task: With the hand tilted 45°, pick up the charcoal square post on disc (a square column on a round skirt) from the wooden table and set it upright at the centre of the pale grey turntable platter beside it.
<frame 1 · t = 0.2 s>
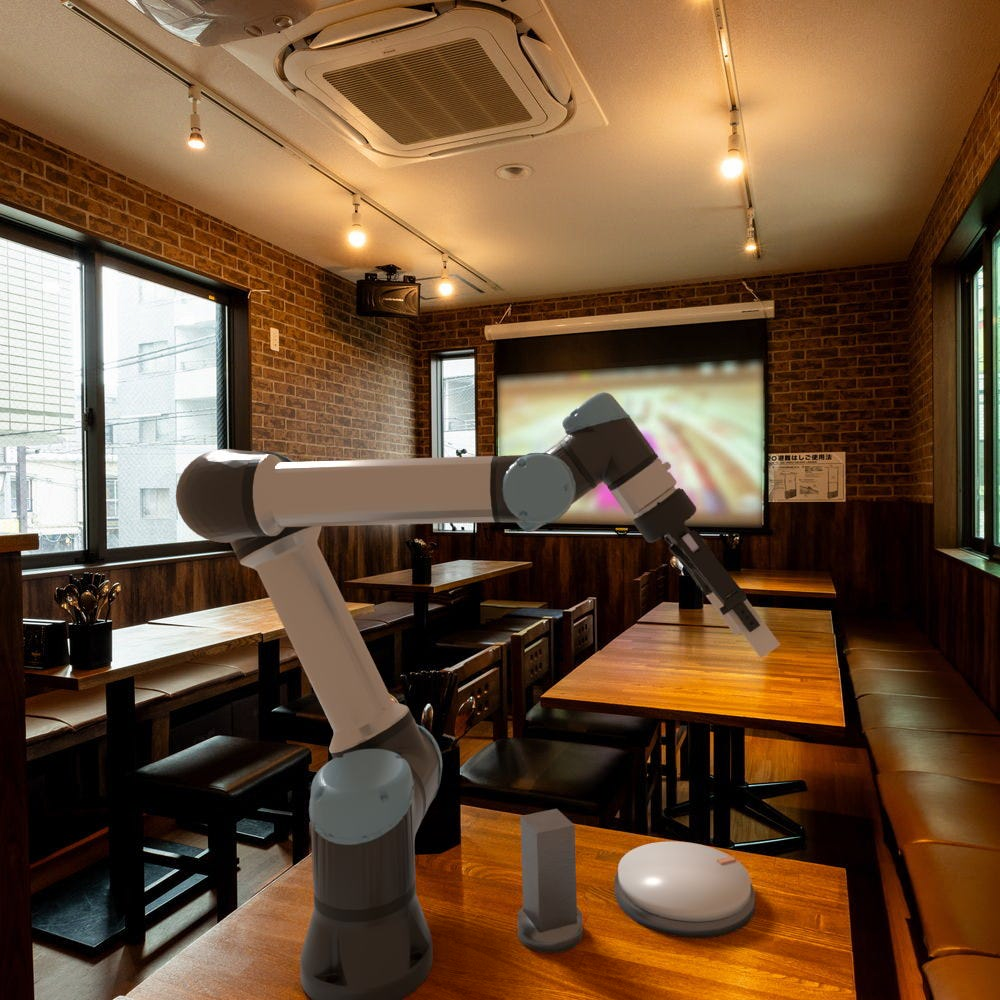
hand: (756, 639, 93), 35 cm above the table, tool tilted 35°, fingers open, 13 cm apart
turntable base: (683, 896, 99), on the table
square post on disc: (550, 932, 92), on the table
turntable platter: (682, 877, 99), point 3 cm above the table, hinge at 0.0°
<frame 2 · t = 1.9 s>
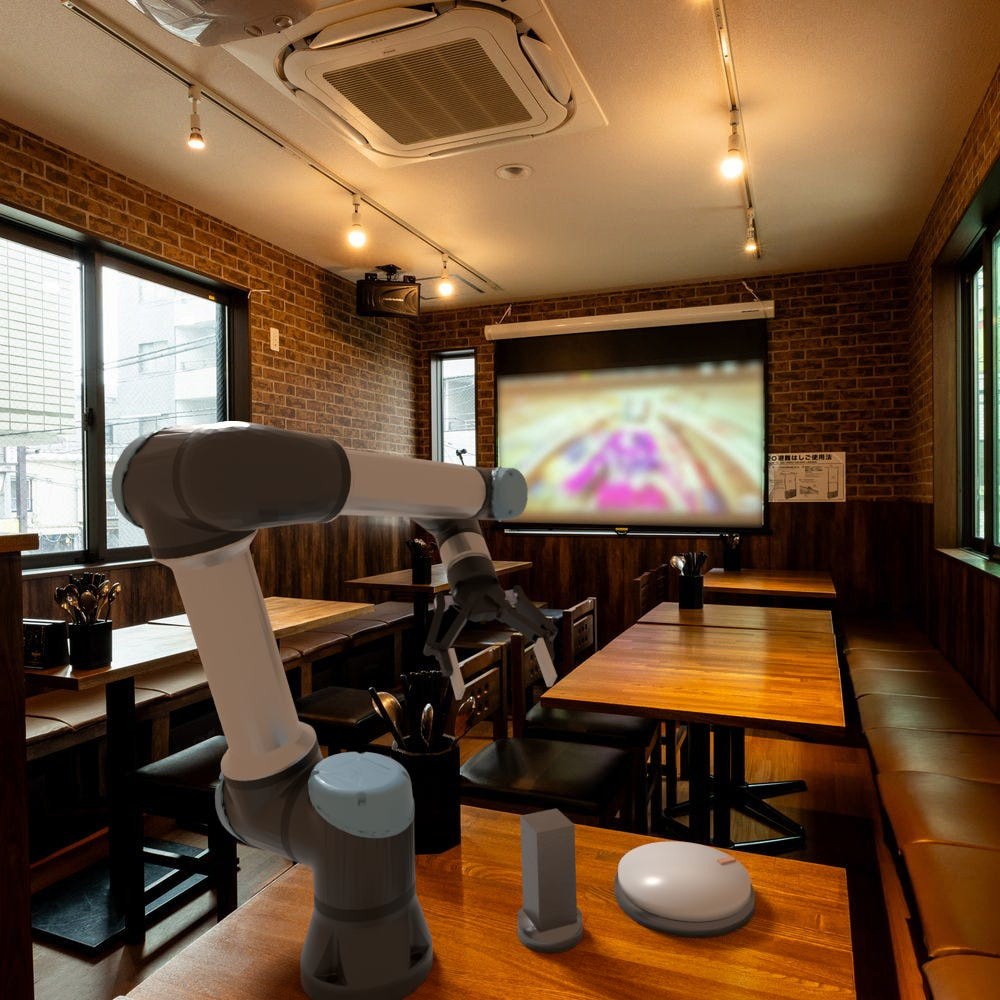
hand: (507, 688, 103), 27 cm above the table, tool tilted 45°, fingers open, 13 cm apart
nothing on the table moved.
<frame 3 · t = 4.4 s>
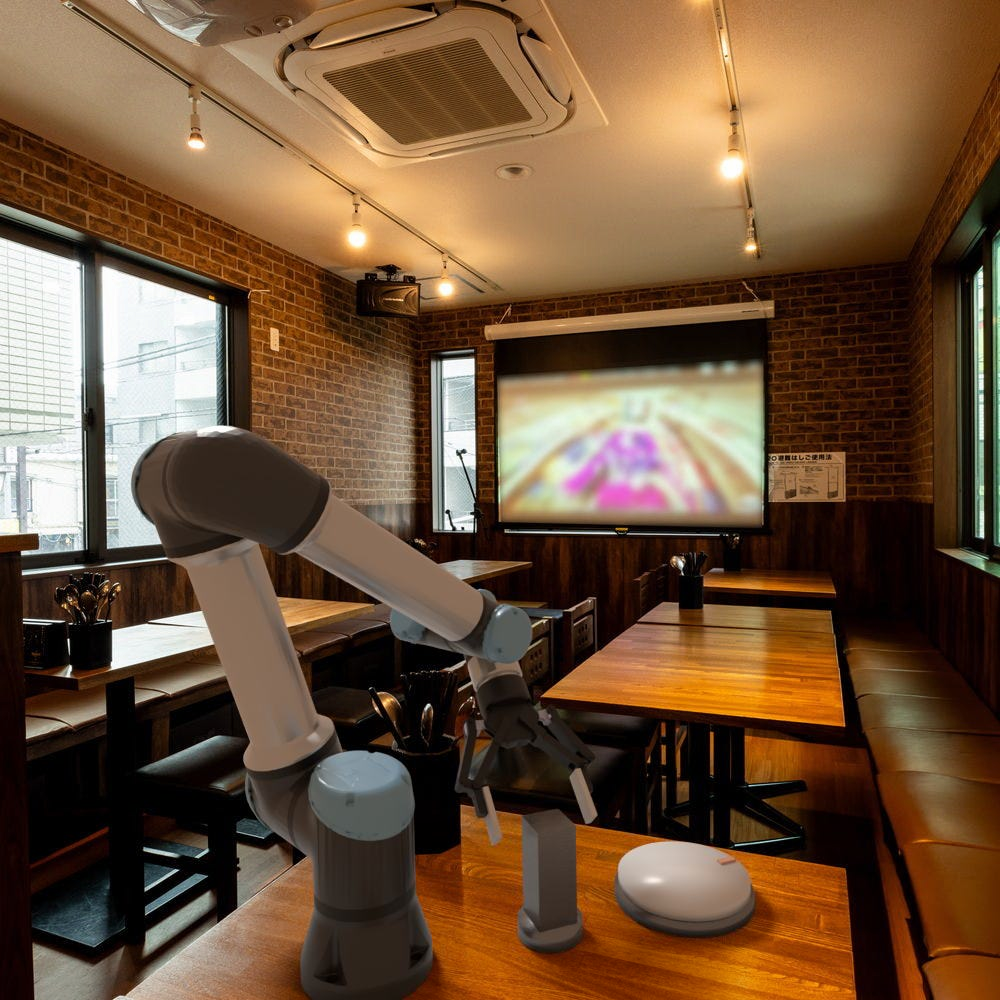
hand: (545, 830, 96), 10 cm above the table, tool tilted 45°, fingers open, 13 cm apart
nothing on the table moved.
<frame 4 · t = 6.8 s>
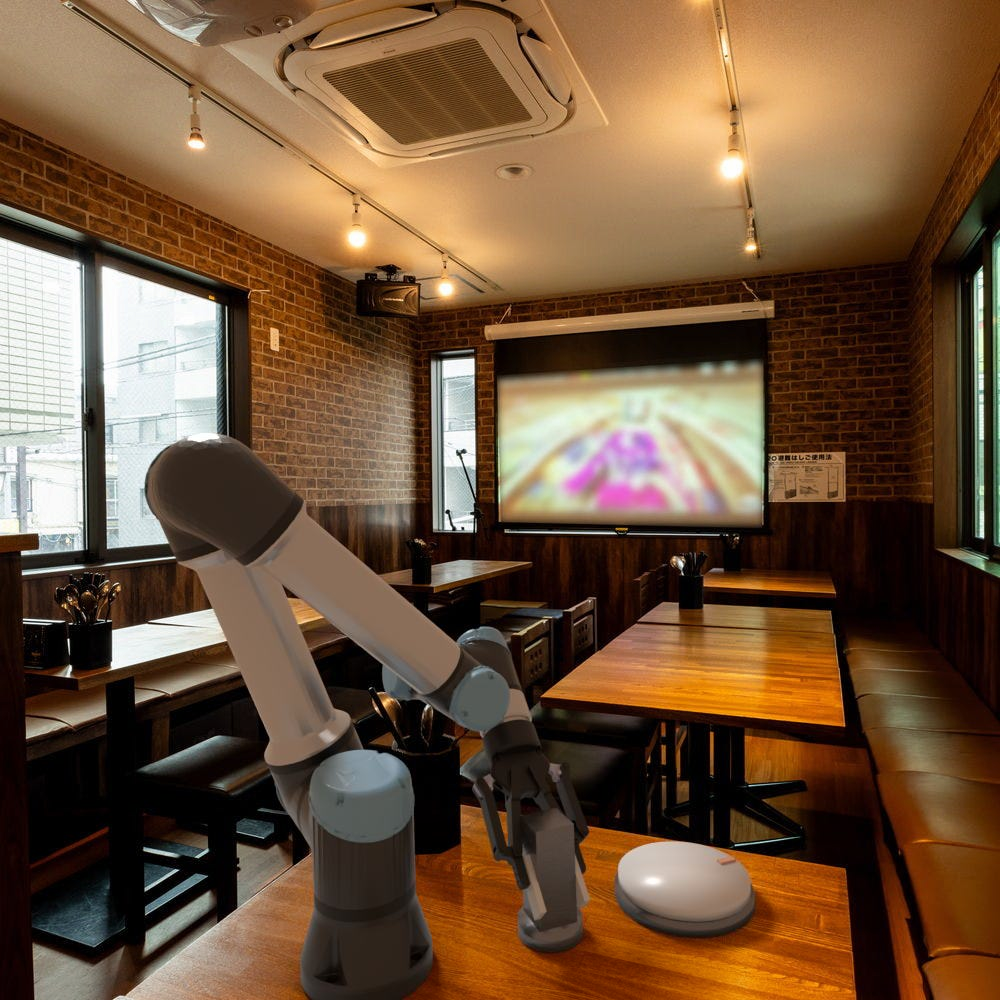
hand: (562, 909, 88), 5 cm above the table, tool tilted 45°, fingers closed on square post on disc, 5 cm apart
square post on disc: (550, 931, 92), on the table, touching gripper
everything else where it was.
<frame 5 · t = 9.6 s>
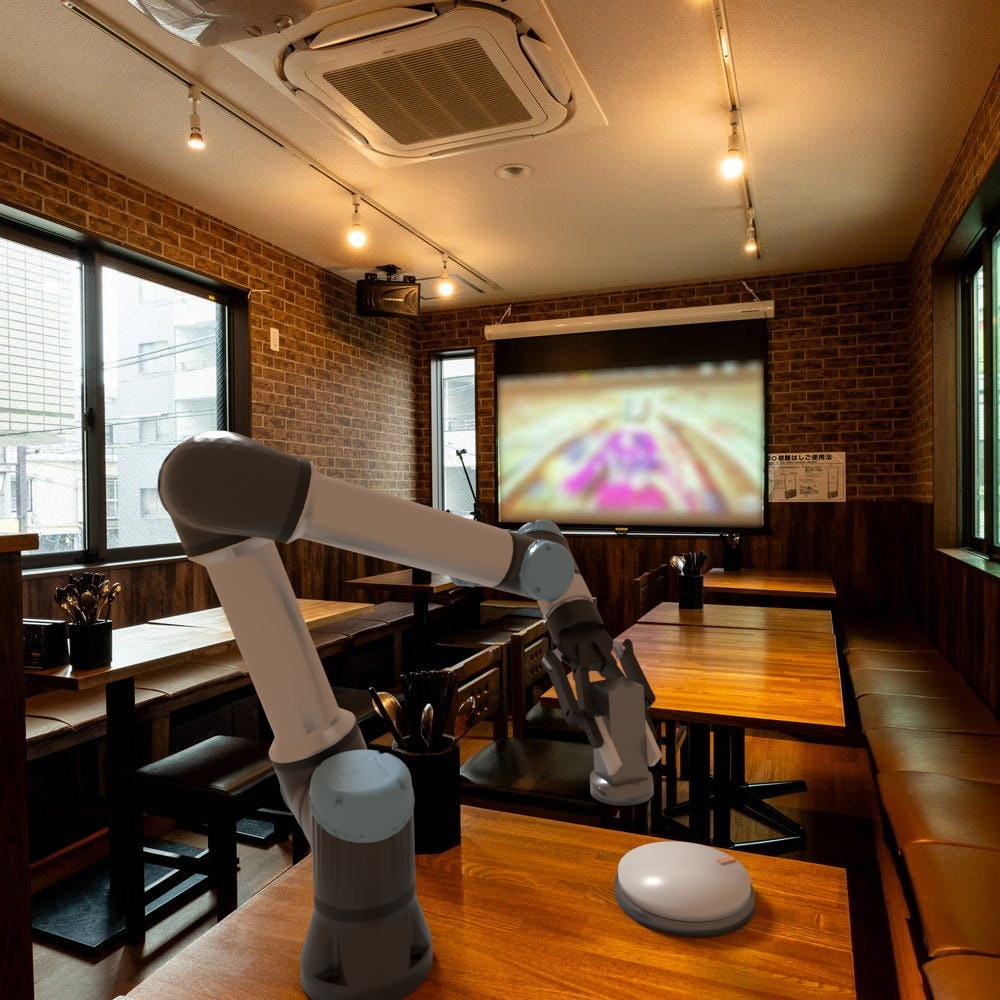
hand: (635, 765, 92), 20 cm above the table, tool tilted 45°, fingers closed on square post on disc, 5 cm apart
square post on disc: (621, 791, 96), point 15 cm above the table, touching gripper
everything else where it was.
when the fingers open (9 cm above the table, at t = 12.8 s): square post on disc stays where it is, resting on turntable platter.
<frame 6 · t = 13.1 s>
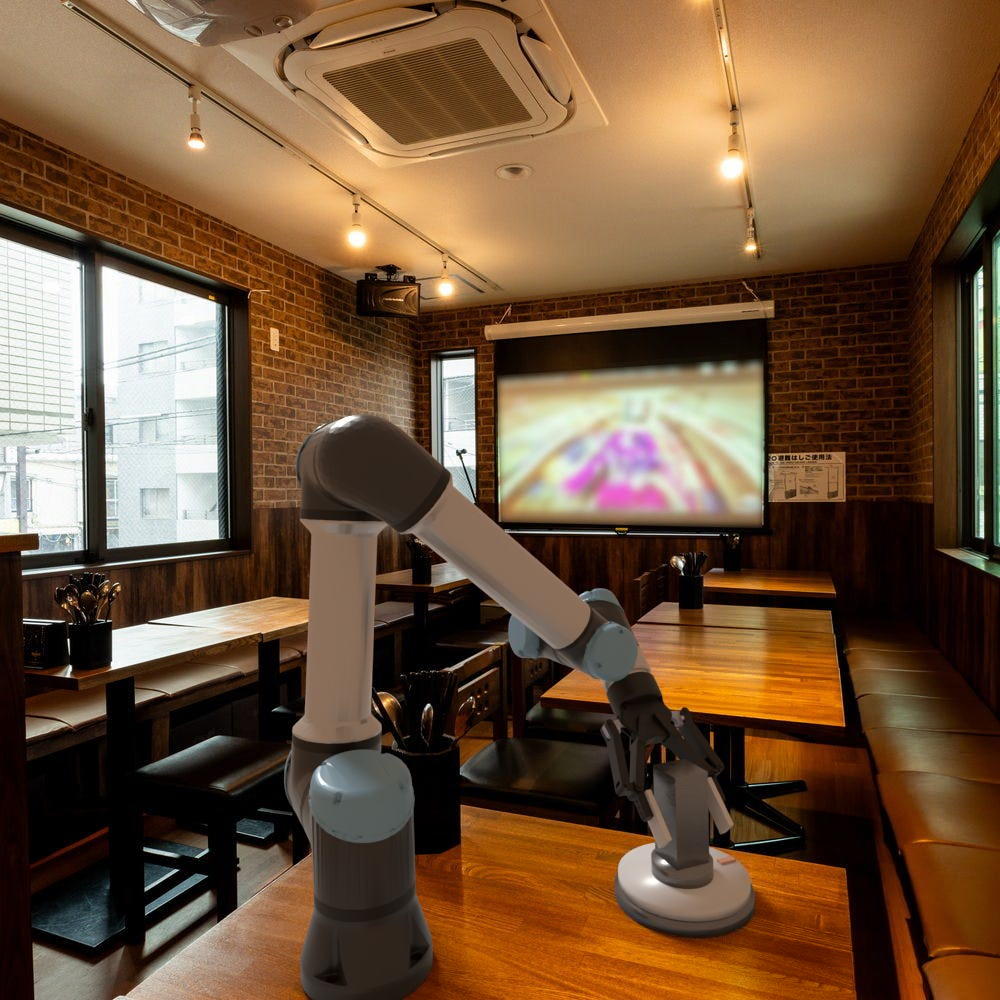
hand: (696, 836, 95), 9 cm above the table, tool tilted 45°, fingers open, 9 cm apart
square post on disc: (682, 872, 99), point 3 cm above the table, touching turntable platter
turntable platter: (682, 877, 99), point 3 cm above the table, hinge at 0.0°, touching square post on disc
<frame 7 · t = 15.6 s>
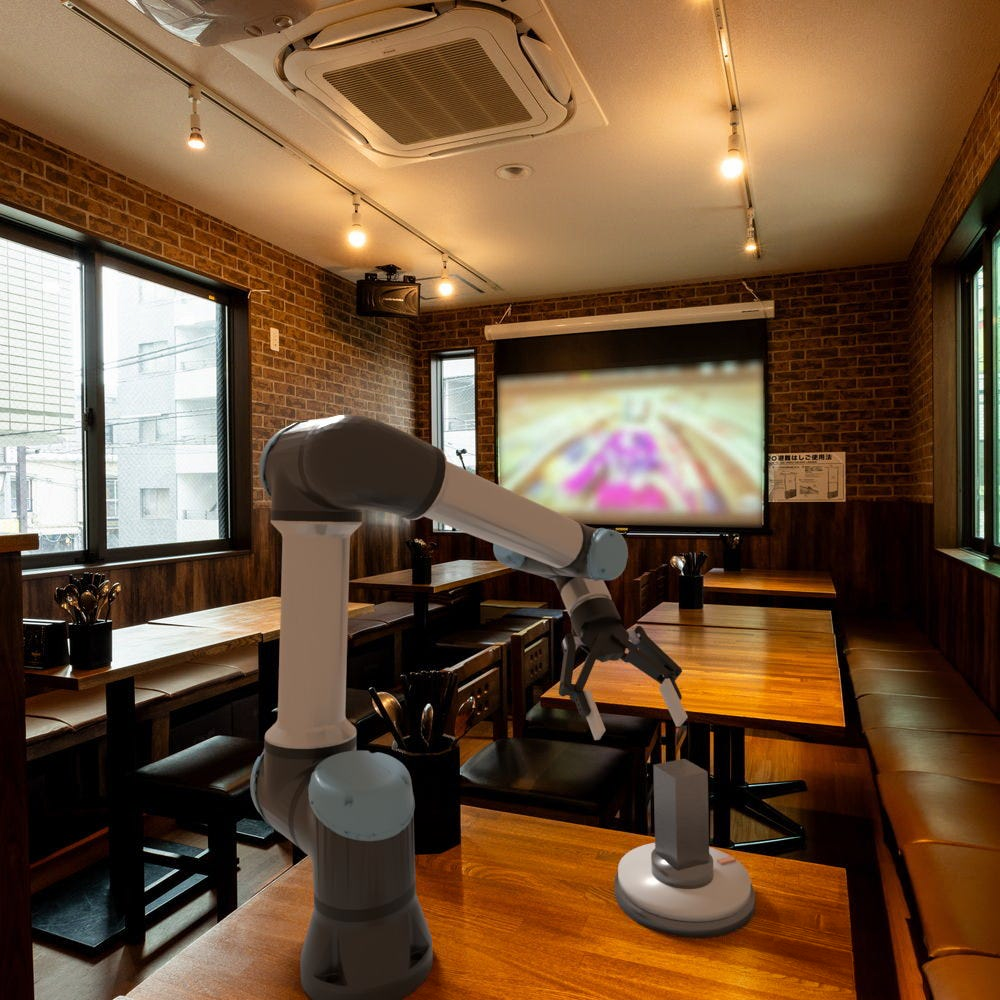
hand: (642, 728, 107), 20 cm above the table, tool tilted 45°, fingers open, 13 cm apart
nothing on the table moved.
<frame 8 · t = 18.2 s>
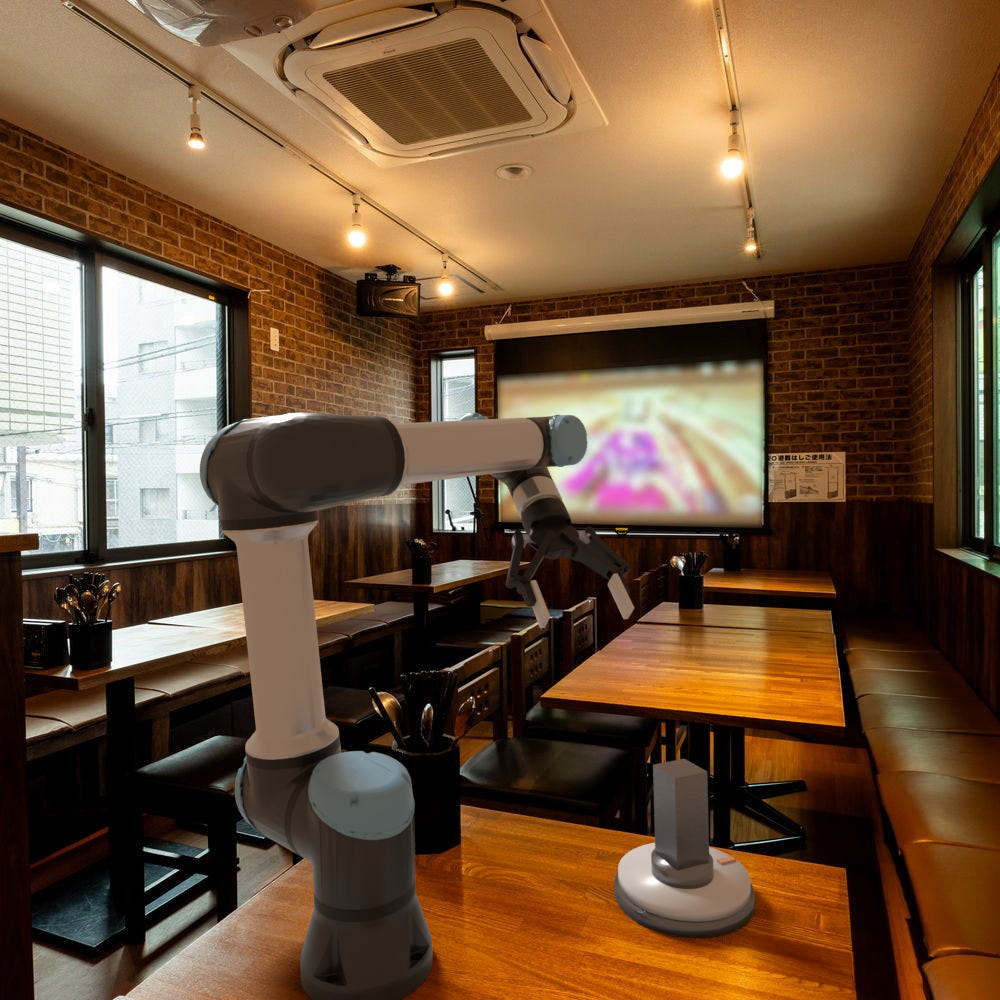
hand: (588, 618, 107), 36 cm above the table, tool tilted 45°, fingers open, 13 cm apart
nothing on the table moved.
at the end: square post on disc 0.1 cm from the turntable platter (horizontally); square post on disc point 3.2 cm above the table; square post on disc tilted 0° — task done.
